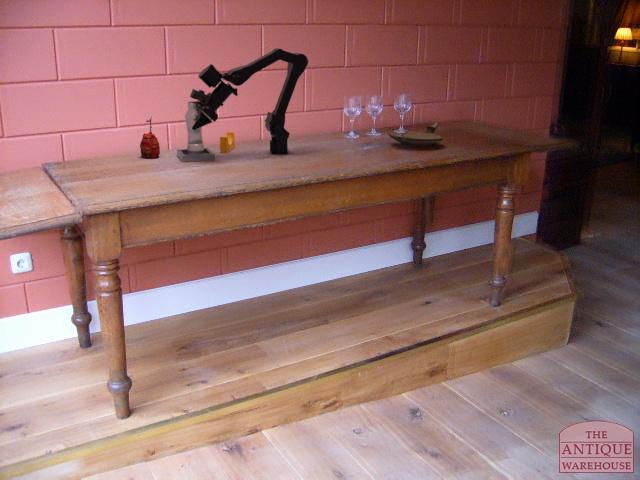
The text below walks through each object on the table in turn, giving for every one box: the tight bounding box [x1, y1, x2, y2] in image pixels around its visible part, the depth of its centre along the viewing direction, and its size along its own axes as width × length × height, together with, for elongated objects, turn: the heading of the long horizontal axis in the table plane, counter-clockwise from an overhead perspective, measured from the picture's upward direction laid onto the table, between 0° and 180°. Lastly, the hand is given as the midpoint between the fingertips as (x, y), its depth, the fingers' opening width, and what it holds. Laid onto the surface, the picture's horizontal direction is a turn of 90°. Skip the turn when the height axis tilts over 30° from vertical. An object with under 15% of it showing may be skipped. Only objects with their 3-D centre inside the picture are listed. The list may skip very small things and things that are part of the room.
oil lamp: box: [387, 122, 443, 148], centre depth 279 cm, size 22×30×8 cm
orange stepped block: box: [219, 131, 236, 154], centre depth 264 cm, size 12×4×6 cm, turn 173°
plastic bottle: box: [184, 100, 205, 155], centre depth 246 cm, size 6×7×20 cm
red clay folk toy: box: [139, 116, 161, 159], centre depth 248 cm, size 8×7×15 cm
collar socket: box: [176, 147, 216, 163], centre depth 249 cm, size 12×12×2 cm
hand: (190, 127), depth 246 cm, fingers open, 8 cm apart
